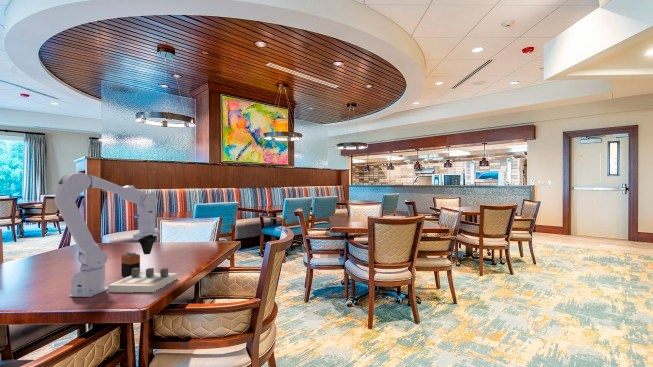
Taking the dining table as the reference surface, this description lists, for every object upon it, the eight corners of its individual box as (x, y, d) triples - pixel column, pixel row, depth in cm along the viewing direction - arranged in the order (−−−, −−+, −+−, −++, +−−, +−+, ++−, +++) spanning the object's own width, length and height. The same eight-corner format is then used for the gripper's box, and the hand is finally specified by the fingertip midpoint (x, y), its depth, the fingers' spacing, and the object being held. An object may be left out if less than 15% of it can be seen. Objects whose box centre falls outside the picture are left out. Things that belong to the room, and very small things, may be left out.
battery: (130, 278, 126) (130, 254, 126) (120, 275, 129) (120, 252, 130) (140, 275, 130) (140, 252, 130) (131, 273, 133) (131, 250, 133)
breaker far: (136, 276, 119) (136, 269, 119) (131, 276, 120) (131, 269, 120) (139, 274, 121) (139, 267, 121) (134, 274, 122) (134, 267, 122)
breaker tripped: (165, 276, 119) (165, 269, 119) (160, 276, 119) (160, 269, 119) (168, 275, 121) (168, 268, 121) (163, 275, 121) (163, 268, 121)
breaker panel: (153, 292, 109) (153, 285, 109) (108, 292, 110) (108, 284, 110) (177, 279, 125) (177, 272, 125) (137, 278, 126) (137, 272, 126)
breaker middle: (150, 276, 119) (150, 269, 119) (145, 276, 119) (145, 269, 119) (153, 275, 121) (153, 268, 121) (148, 275, 121) (148, 268, 121)
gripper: (145, 223, 118) (145, 258, 118) (166, 219, 133) (166, 250, 133) (128, 223, 119) (127, 258, 118) (151, 219, 133) (151, 250, 133)
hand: (147, 253), depth 126 cm, fingers closed
